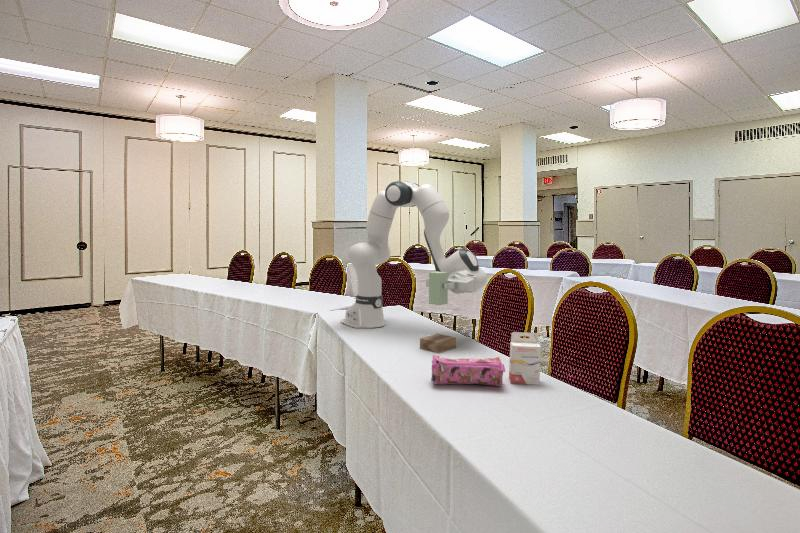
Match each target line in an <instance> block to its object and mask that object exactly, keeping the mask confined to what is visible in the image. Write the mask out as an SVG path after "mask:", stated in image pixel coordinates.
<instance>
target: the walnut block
mask: <svg viewBox="0 0 800 533" xmlns="http://www.w3.org/2000/svg"><path fill="white" fill-rule="evenodd" d="M456 348H457V337H456V336H451V335H447V334H446V335H445V334H441V333H436V334H432V335H427V336H424V337H420V338H419V349H420V350H424V351H428V352H432V353H436V354H440V353H443V352H446V351H450V350H453V349H456Z"/></svg>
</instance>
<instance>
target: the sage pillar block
mask: <svg viewBox="0 0 800 533" xmlns="http://www.w3.org/2000/svg"><path fill="white" fill-rule="evenodd" d="M428 278H429V287H428V304H429V305H435V306H442V305H448V301H449V300H448V298H449V297H448V293H449V292H448V290H449V289H443V288H442V284H448V272H438V271H437V272H436V271H431V272H429V273H428Z"/></svg>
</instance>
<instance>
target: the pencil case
mask: <svg viewBox="0 0 800 533" xmlns="http://www.w3.org/2000/svg"><path fill="white" fill-rule="evenodd" d="M431 364H432V365H431V379H430V380H431V382H433V384H434V385H475V384H478V385H485V386H496V387H501V386H502V385H503V376H504V373H505V372H506V367H505V364H504V363H502V360H501V357H499V356H497V357H494V358H492V357H487V358H473V357H472V358H448V357H443V356H439V355H436V354H434V355H432V360H431Z"/></svg>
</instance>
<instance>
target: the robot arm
mask: <svg viewBox="0 0 800 533" xmlns="http://www.w3.org/2000/svg"><path fill="white" fill-rule="evenodd" d="M408 207H412V208H413V207H416V208H417V209H418V212H419V213H420V215H421V217H422V219H423V224H424V230H423V235H424V239H425V242H426V245H427V248H428V250H429V254H430V256H431V258H432V260H433V261H432V262H433V265H434V268H435V272H437V271H438V272H448V284H442V288H443V289H448V290H449V291H451V292H452V293H453V294H457V295H458V294H465V293H472V294H473V293H477V291H478V290H480V289H482V288H483V287H485V285H486V284H487V282H488V275H487V273H486V272H485V270H483V269H482V268H481V267H479V261H478V259H477V256H476V255H475V253H474V252H473V251H471V250H470V249H468V248H465V247H461V248H459V249H458V250H456V251H455V252H454V253H452V254H450V255H449V256H447V257H446V255H445V253H444V250H443V248H442V245H441V235H442V234H443V231H444V229H445V227H446V226H447V224H448V222H449V218H450V213H449V212H450V211H449V209H448V207H447V205H446V203H445V201H444V200H443V198H442V196H441V195H440V193H439V192H438V191H437V189H436V188H435V187H434V186H433V185H432V184H429V183H425V184H422V185H419V184H418V183H415V182H412V181H400V180H396V181H393V182H390V183H388V185H387V186H386V187H385V189H384V190H380V191H378V193H377V194H376V196H375V198H374V200H373V203H372V205H371V207H370V210H369V214H368V217H367V220H366V224H365V229H366V231H367V241H365V242H363V241H362V242H359V243H355V244H353V245H351V246H350V247H349V248H348V252H347V259H348V261H349V263H350V264H352V266H353V267H354V269H355V274H356V276H357V295H355V296H353V299H355V302H354V303H353V304H352V305H350V307H349V308H347V310H346V312H345V316H344V317H345V318H344V319H341V320H340V322H341V323H340V324H343V323H344V324H343V325H345V324H346V326H349V327H351V328H354V329H361V328H362V329H363V328H364V329H371V328H372V329H373V328H380V327H384V326H385V325H386V323H385V322H386V320H385V319H384V308H383V301H384V300H383V299H384V298H383V295H382V290H383V289H382V282H383V281H382V277H381V276H380V275H379V274H378V271H377V267H376V266H379V265H381V264H385V263H386V262H388V260H389V259H390V257H391V249H390V247H389V236H390V235H389V234H390V230H391V228H392V227H391V226H392V224H393V221H394V217H395V214H396V211H397V210H398V208H408ZM425 286H426V287H427V288H429V277H426V278H425Z"/></svg>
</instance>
